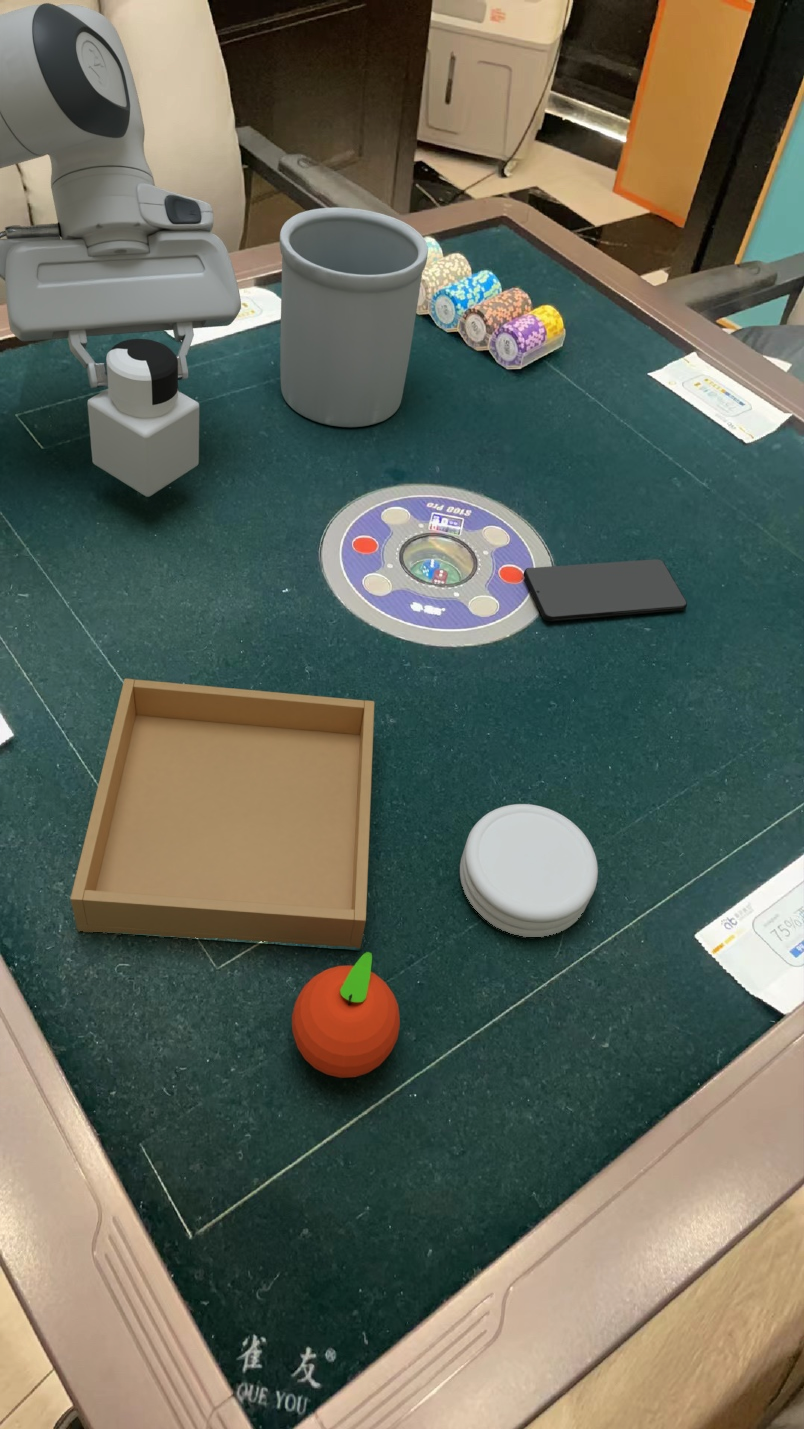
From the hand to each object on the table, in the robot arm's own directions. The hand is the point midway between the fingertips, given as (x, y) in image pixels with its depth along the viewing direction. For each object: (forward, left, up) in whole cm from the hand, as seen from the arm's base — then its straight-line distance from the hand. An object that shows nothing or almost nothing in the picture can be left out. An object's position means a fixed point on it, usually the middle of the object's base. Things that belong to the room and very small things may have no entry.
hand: (140, 382), depth 94 cm
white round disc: (+35, -41, -12) cm, 56 cm away
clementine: (+22, -54, -12) cm, 60 cm away
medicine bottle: (0, -1, -8) cm, 8 cm away
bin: (+13, -38, -12) cm, 42 cm away
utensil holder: (+18, +21, -12) cm, 30 cm away
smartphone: (+45, -8, -12) cm, 47 cm away
